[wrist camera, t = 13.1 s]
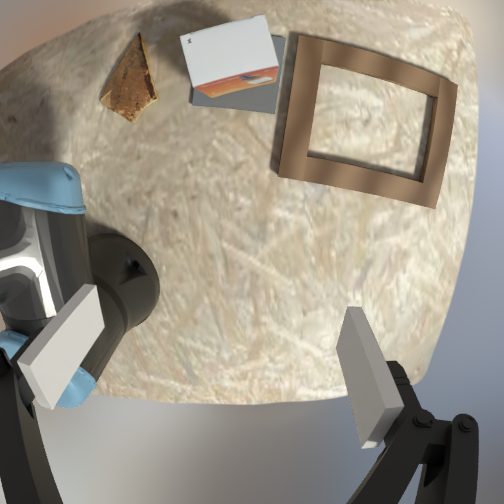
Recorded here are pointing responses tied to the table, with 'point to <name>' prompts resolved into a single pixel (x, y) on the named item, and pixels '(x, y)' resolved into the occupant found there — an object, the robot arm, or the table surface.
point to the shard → (131, 83)
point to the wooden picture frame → (352, 176)
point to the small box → (231, 56)
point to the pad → (248, 91)
